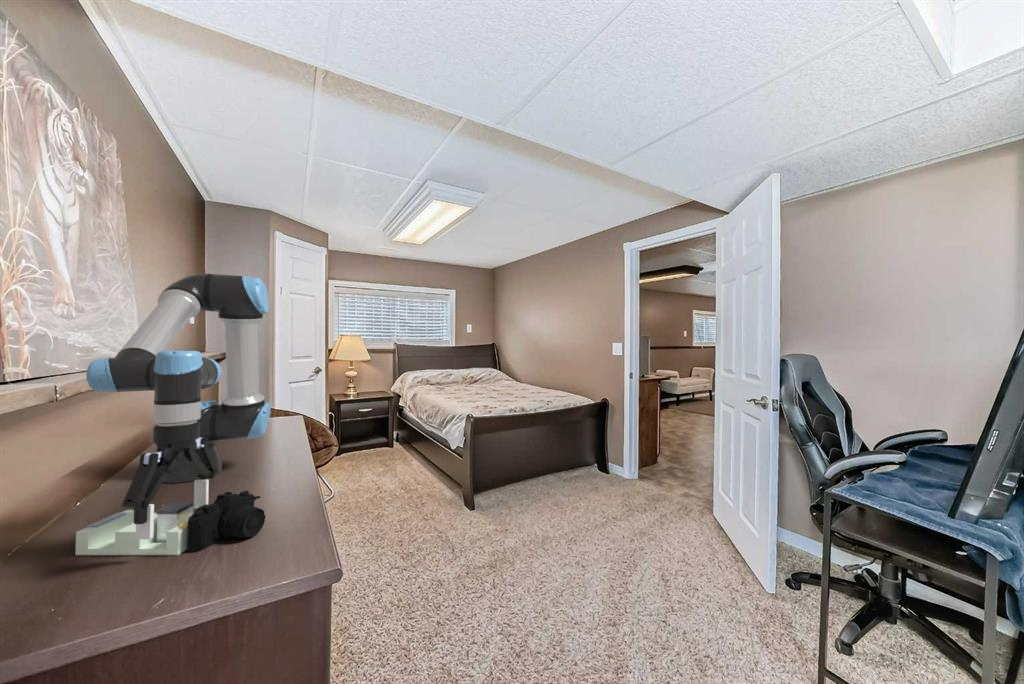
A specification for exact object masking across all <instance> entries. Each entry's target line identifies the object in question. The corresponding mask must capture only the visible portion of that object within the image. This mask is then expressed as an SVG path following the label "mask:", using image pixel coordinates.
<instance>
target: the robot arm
mask: <svg viewBox="0 0 1024 684" xmlns="http://www.w3.org/2000/svg"><path fill="white" fill-rule="evenodd" d="M269 305H270V302H269V294H268V289H267V287H266V284H265V282H264V281H263V280H262V279H260V277H254V276H246V275H232V274H231V275H230V274H215V273H213V274H212V273H205V272H204V273H197V274H192V275H188V276H186V277H183V278H181V279H178V280H176V281H175V282H172V283H171V284H169V285H168V286H167V287H166V288H164V290H162V292H161V293H160V294H159V295H158V298H157V305H156V306H155V308H154V309H153V310H152V311H151V312H150V313H149V315H148V316H147V317H146V318H145V320H144V321H143V322H142V323H141V325H140V326H139V327H138V328H137V330H136V331H135V332H134V333H133V334H132V336H131V337H130V338H129V339H128V340H127V342H126V343H125V345H123V347H122V348H121V349H120V350H119V351H118V353H117V354H116V355H115V356H114V357H109V356H108V357H101V358H97V359H94V360H92V361H91V362H90V363H89V364H88V367H87V369H86V372H85V373H86V378H85V379H86V382H87V383H88V386H89V387H90V389H92V390H93V391H96V392H111V393H114V392H115V393H123V392H145V391H146V392H151V391H153V393H154V395H153V396H154V399H153V404H154V407H153V423H154V424H155V425H154V426H153V427H152V442H153V444H155V445H156V450H155V452H143V453H141V455H140V456H139V464H138V468H137V470H136V472H135V474H134V476H133V479H132V480H131V483H130V486H129V488H128V490H127V492H126V495H125V496H124V499H123V501H122V503H121V507H122V508H124V509H125V508H133V510H134V524H136V539H151V538H153V531H154V513H155V504H154V503H151V502H152V501H153V499H154V498H155V496H156V494H157V493H158V491H159V489H160V488H161V486H162V484H164V483H166V484H175V483H176V484H177V483H185V482H186V483H187V482H192V481H193V482H194V485H193V502H194V506H193V510H196V509H197V508H199V507H201V506H203V505H206V504H207V505H209V492H210V488H211V487H210V486H211V485H210V484H211V483H210V482H211V479H215V477H216V475H218V474H220V473H221V472H222V467H223V463H222V461H221V459H220V456H219V453H218V451H217V448H216V441H229V440H249V439H257V438H261V437H263V436H264V435H265V434H266V431H267V429H268V426H269V423H270V422H269V421H270V417H271V411H272V408H271V407H272V406H271V403H270V402H265V398H266V397H265V396H264V395H263V394H261V393H260V381H259V380H260V379H259V376H260V373H259V372H260V371H259V331H258V328H259V326H258V324H259V323H260V322H261V321H262V320H263V319H264V315H265V314H267V313H268V312H269V310H270V306H269ZM200 312H214V313H215V312H217V313H218V314H217V315H218V319H219V320H220V321H222V322H223V323H224V335H225V336H224V337H225V361H226V362H225V366H226V368H225V369H226V390H227V391H226V393H227V395H226V396H225V397H224V398H223V399H222V400H221V404H218V402H217V400H216V399H215V400H214V399H213V400H212V399H210V400H201V399H202V390H205V389H207V388H210V387H212V386H213V385H215V384H217V383H218V382H219V380H221V378H222V373H223V370H222V367H221V365H220V364H219V363H218V362H217V361H216V360H215V359H212V358H208V357H205V356H203V355H202V353H201V352H200V351H198V350H170V349H171V347H172V346H173V344H174V343H175V341H176V340H177V338H178V337H179V336H180V334H181V332H182V331H183V329H184V328H185V326H186V325H187V323H188V321H190V319H191V318H194V317H196V316H197V315H198V314H199V313H200Z"/></svg>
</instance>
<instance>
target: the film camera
mask: <svg viewBox="0 0 1024 684" xmlns="http://www.w3.org/2000/svg"><path fill="white" fill-rule="evenodd" d="M257 499H261V496H260V495H257V496H255V495H254V494H252V493H250V491H249V490H247V489H246V490H244V491H240V492H239V493H238V494H237V493H233V492H232V491H225V492H224V493H222V494H217V497H216V498H215V500H214V501H213V503H211V504H209V503H208V505H207V504H206V505H203V506H201V507H199V508H197V509H194V511H193V515H192V516H191V517H189V519H188V540H187V550H186V551H187V552H188V553H198V552H201V551H203V550H205V549H207V548H209V547H211V546H213V545H215V544H217V543H219V542H220V541H222V540H225V539H231V538H240V539H241V538H242V539H246V538H252V537H254V536H256V535H257V534H258V533H259V532H260V531H261V530H262V528H263V526H264V525H265V521H266V520H265V519H266V514H265V510H263V509H262V508H260V507H258V506H255V501H256V500H257Z"/></svg>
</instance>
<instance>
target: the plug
mask: <svg viewBox="0 0 1024 684" xmlns="http://www.w3.org/2000/svg"><path fill="white" fill-rule="evenodd" d="M193 510H194V501H174V502H171V503H169V504H167V505H165V506H162V507H161V508H159V509H156V511H155V513H156V514H157V543H166V532H167V531H169V530H171V529H173V528H175V527H176V526H178V525H180V524H182V523H184V522H185V521H187V520H188V519H189V517H191V516H192V515H194V511H193Z"/></svg>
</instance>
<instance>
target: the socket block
mask: <svg viewBox="0 0 1024 684" xmlns="http://www.w3.org/2000/svg"><path fill="white" fill-rule="evenodd" d="M187 540H188V520H187V521H185V522H184V523H182V524H180V525H178V526H176V527H175V528H173V529H171V530H169V531H167V532H166V543H157V514H156V512H154V531H153V538H151V539H136V524H134V509H126V510H124V511H121V512H116V513H113V514H112V515H109V516H107V517H104V518H103V519H100V520H97V521H95V522H93V523H91V524H88V525H87V527H84V528H82V529H80V530H79V529H78V530H77V531H76V532H75V556H179V555H181V554H182V553H183V552H185V551H188V550H187Z"/></svg>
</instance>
